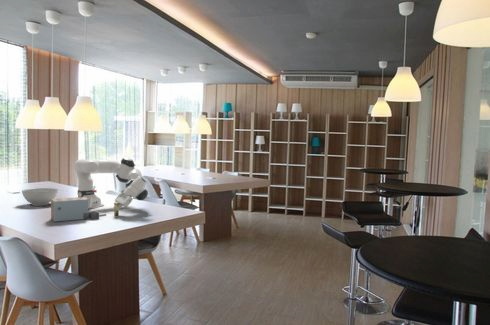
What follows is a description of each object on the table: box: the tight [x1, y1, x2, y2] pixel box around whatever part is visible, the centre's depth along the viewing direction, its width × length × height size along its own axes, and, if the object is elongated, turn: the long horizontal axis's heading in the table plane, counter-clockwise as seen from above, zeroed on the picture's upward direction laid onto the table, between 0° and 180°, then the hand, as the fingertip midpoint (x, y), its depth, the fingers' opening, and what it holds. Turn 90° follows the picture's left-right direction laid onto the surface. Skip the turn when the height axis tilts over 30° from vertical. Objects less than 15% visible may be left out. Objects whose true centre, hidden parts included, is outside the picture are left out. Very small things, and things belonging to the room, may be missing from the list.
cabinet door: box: [53, 199, 89, 222], centre depth 265 cm, size 22×3×14 cm, turn 126°
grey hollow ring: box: [83, 210, 100, 220], centre depth 273 cm, size 10×7×4 cm, turn 126°
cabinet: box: [50, 196, 87, 222], centre depth 270 cm, size 22×10×14 cm, turn 126°
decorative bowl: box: [21, 187, 59, 207], centre depth 322 cm, size 27×27×12 cm
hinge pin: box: [113, 201, 120, 217], centre depth 283 cm, size 3×3×10 cm
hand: (115, 208), depth 283 cm, fingers closed on hinge pin, 3 cm apart
